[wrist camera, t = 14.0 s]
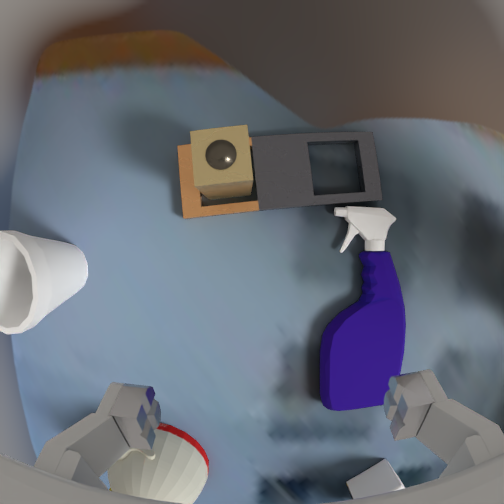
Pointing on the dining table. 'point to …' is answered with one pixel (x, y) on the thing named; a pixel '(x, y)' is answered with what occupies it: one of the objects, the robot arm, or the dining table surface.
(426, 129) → the dining table surface
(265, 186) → the peg insertion board
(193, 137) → the tan square peg
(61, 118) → the dining table surface
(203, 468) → the kitchen timer
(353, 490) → the medicine bottle
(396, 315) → the purple flat blob
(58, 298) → the foam cup
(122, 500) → the robot arm
